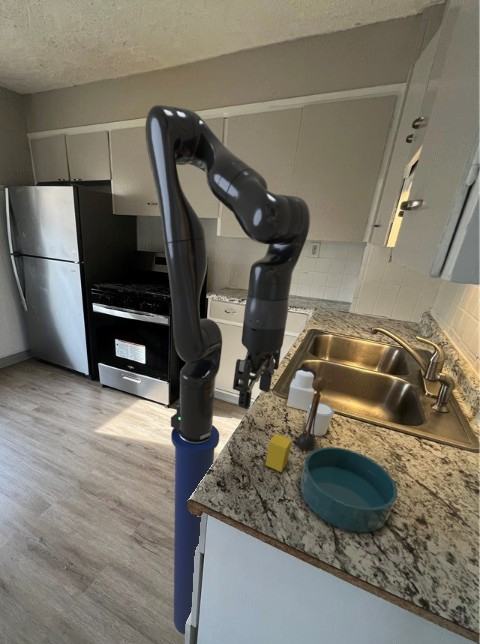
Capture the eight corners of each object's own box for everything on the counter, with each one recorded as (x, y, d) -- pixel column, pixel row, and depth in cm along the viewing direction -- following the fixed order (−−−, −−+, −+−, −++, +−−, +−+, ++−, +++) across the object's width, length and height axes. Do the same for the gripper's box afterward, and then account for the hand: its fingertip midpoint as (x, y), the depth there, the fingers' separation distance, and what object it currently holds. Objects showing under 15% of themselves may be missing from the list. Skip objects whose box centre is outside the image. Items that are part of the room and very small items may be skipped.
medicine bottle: (290, 396, 105) (296, 363, 100) (312, 401, 102) (319, 368, 97) (285, 406, 99) (292, 372, 94) (309, 412, 96) (317, 377, 91)
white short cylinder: (325, 424, 91) (331, 403, 88) (331, 438, 85) (337, 417, 82) (301, 421, 92) (305, 400, 89) (304, 435, 86) (309, 413, 83)
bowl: (289, 503, 65) (294, 481, 62) (312, 457, 78) (317, 437, 75) (383, 549, 56) (393, 526, 53) (391, 489, 69) (400, 468, 66)
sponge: (265, 465, 75) (269, 441, 72) (271, 456, 78) (275, 433, 75) (281, 472, 73) (286, 448, 70) (287, 462, 76) (292, 439, 73)
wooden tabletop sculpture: (311, 437, 85) (327, 370, 76) (322, 447, 81) (340, 379, 72) (292, 440, 83) (306, 373, 75) (303, 452, 79) (319, 382, 71)
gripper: (263, 309, 64) (254, 380, 71) (225, 325, 53) (219, 406, 60) (299, 317, 59) (286, 391, 66) (265, 335, 49) (253, 420, 56)
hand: (254, 398), depth 63 cm, fingers open, 8 cm apart
